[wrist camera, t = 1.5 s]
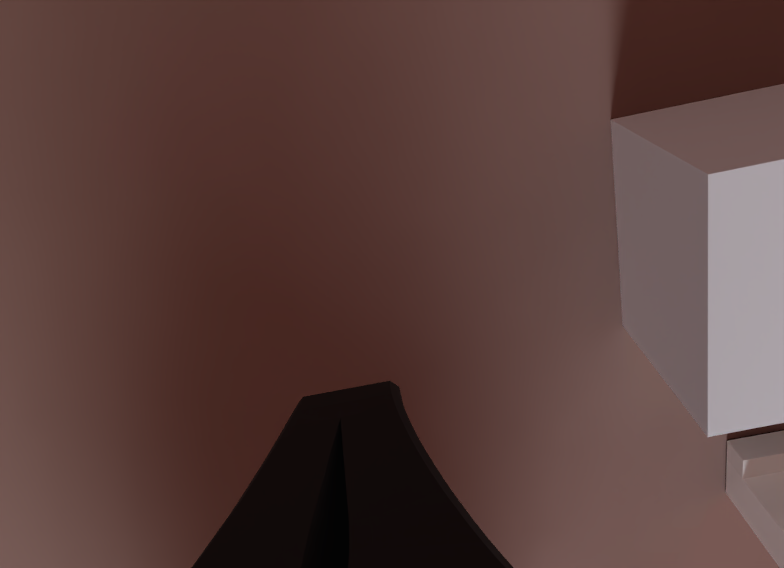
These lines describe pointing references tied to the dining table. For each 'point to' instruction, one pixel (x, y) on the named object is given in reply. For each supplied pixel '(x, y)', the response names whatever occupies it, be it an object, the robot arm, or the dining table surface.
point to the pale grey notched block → (706, 252)
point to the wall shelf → (759, 487)
